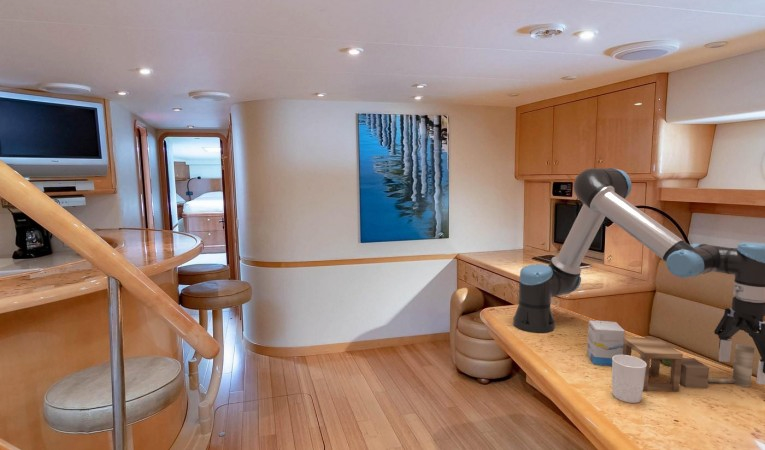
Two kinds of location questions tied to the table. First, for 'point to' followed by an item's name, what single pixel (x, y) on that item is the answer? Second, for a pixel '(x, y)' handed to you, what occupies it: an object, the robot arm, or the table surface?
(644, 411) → the table surface
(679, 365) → the wooden open stand
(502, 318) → the table surface
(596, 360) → the ink box
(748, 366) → the block
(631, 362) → the white cup
